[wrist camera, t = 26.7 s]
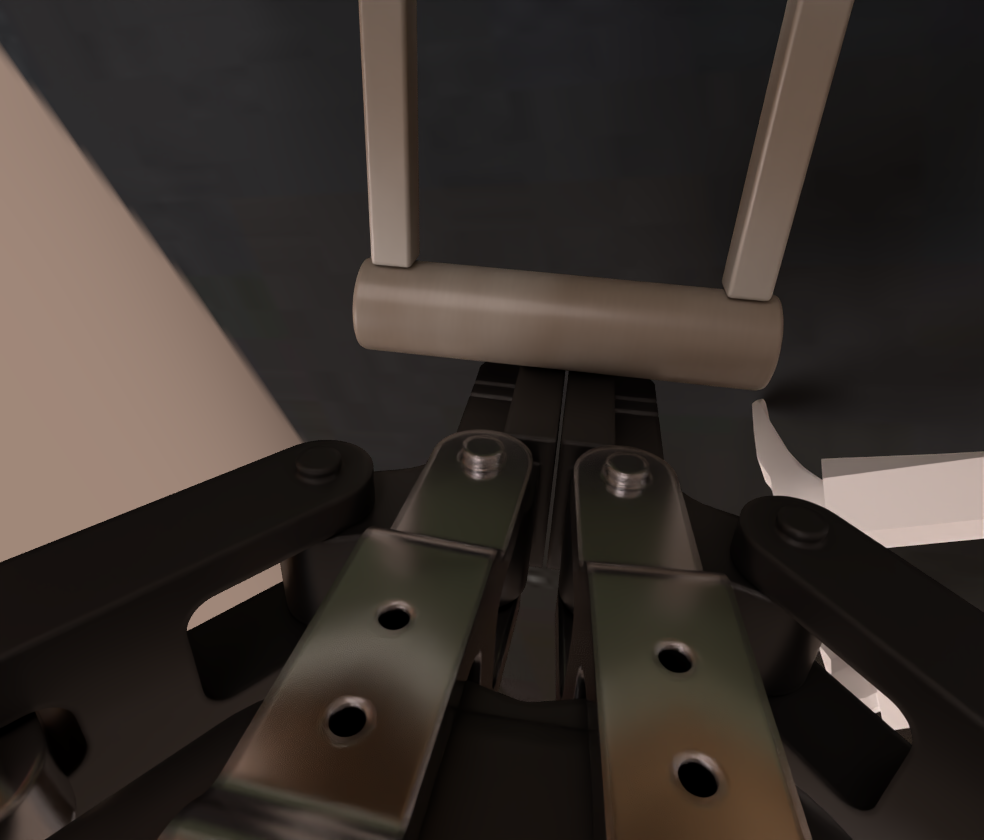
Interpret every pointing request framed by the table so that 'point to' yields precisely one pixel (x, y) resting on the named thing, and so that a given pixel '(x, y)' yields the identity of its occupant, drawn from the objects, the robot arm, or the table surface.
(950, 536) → the male figurine
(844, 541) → the robot arm
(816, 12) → the drawer
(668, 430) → the table surface
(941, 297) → the table surface
